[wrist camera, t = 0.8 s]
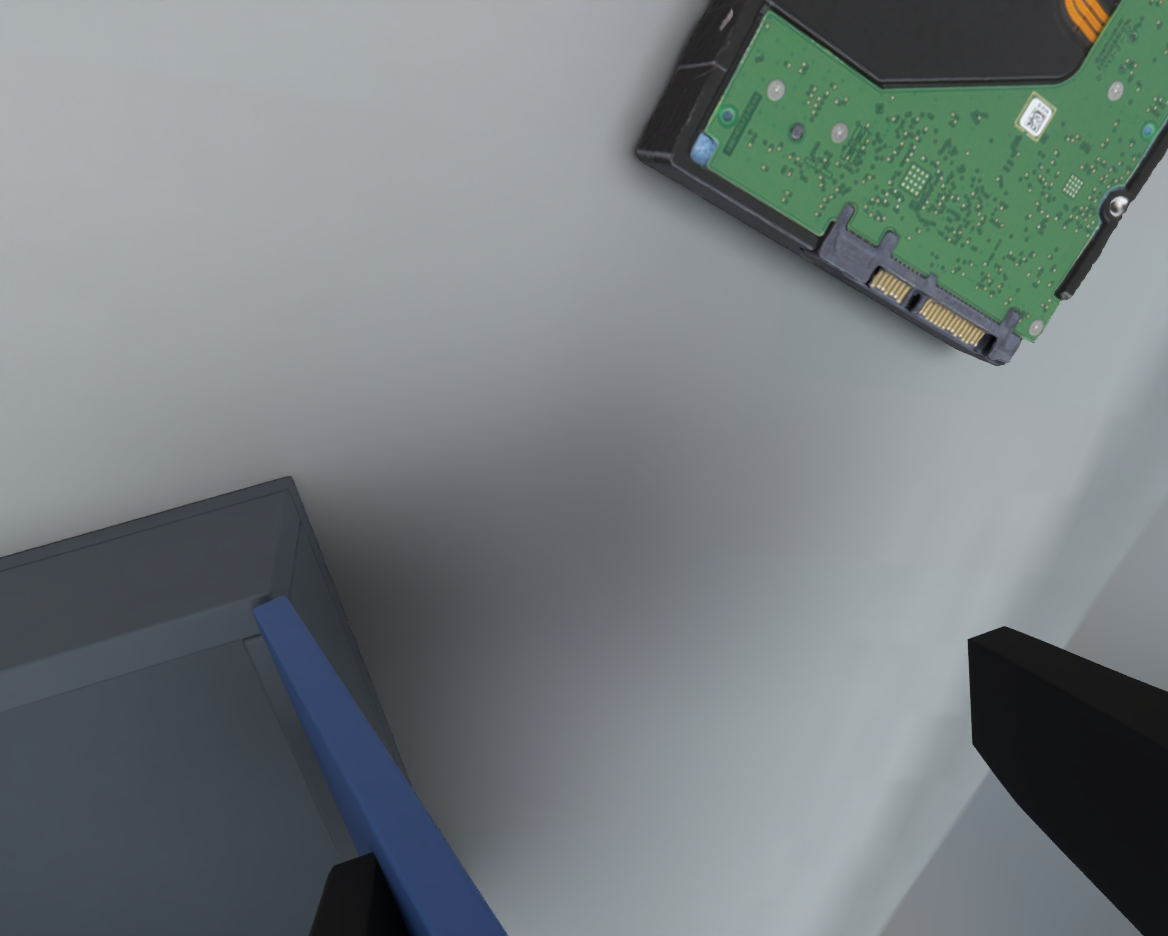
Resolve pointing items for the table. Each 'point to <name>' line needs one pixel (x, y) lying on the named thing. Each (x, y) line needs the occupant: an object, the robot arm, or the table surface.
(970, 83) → the disk drive
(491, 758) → the table surface
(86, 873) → the box
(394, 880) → the lid
